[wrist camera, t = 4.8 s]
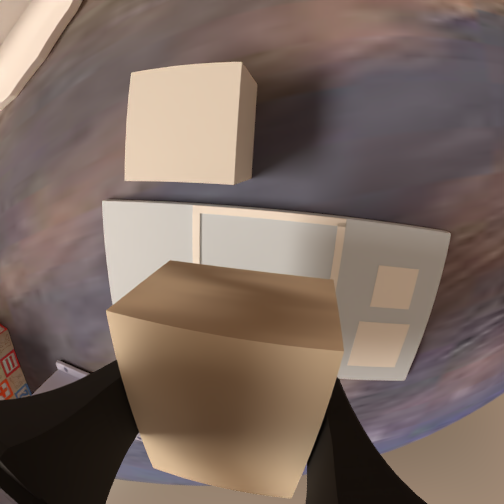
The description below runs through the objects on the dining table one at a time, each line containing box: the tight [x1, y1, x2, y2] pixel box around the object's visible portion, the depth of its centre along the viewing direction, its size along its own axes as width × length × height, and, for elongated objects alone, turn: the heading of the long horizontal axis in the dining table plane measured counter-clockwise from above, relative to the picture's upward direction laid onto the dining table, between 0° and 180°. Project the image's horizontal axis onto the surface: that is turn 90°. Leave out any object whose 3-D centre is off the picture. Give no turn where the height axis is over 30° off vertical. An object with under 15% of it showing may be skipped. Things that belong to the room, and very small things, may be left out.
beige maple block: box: [125, 62, 257, 185], centre depth 13 cm, size 5×5×4 cm
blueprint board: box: [102, 199, 451, 381], centre depth 16 cm, size 20×10×1 cm, turn 87°
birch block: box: [106, 260, 344, 498], centre depth 9 cm, size 6×8×4 cm
